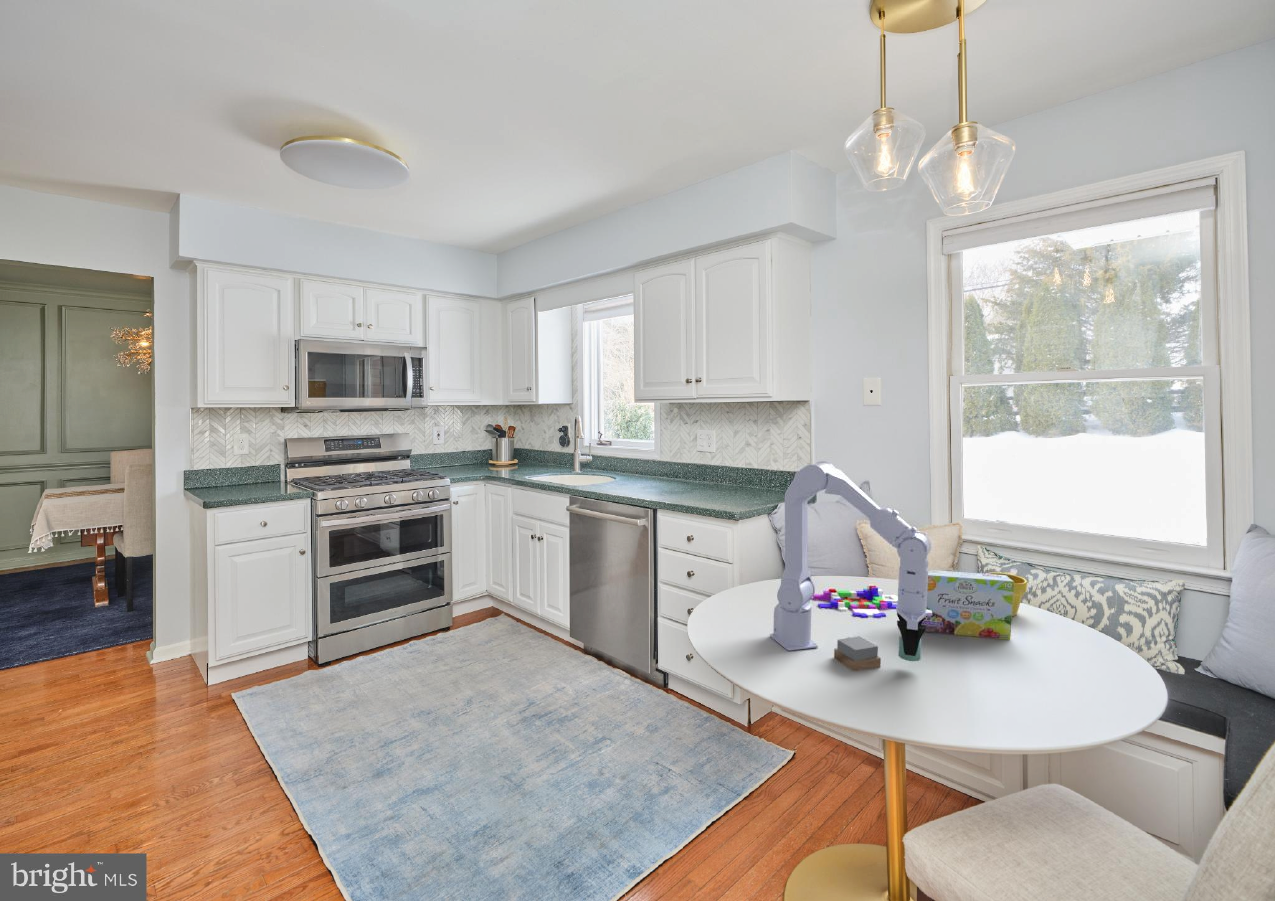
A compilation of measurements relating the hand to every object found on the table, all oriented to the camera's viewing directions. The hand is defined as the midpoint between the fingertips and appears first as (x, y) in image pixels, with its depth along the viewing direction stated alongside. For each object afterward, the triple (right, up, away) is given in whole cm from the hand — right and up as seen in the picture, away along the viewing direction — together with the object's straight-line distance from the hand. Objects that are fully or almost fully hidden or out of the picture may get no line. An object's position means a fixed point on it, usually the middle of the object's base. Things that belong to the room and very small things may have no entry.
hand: (909, 650), depth 133 cm
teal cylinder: (0, -1, 0) cm, 2 cm away
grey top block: (-10, -2, +3) cm, 11 cm away
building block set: (+5, -1, +42) cm, 42 cm away
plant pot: (+41, -1, +36) cm, 55 cm away
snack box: (+22, -3, +22) cm, 31 cm away
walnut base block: (-10, -4, +4) cm, 12 cm away
